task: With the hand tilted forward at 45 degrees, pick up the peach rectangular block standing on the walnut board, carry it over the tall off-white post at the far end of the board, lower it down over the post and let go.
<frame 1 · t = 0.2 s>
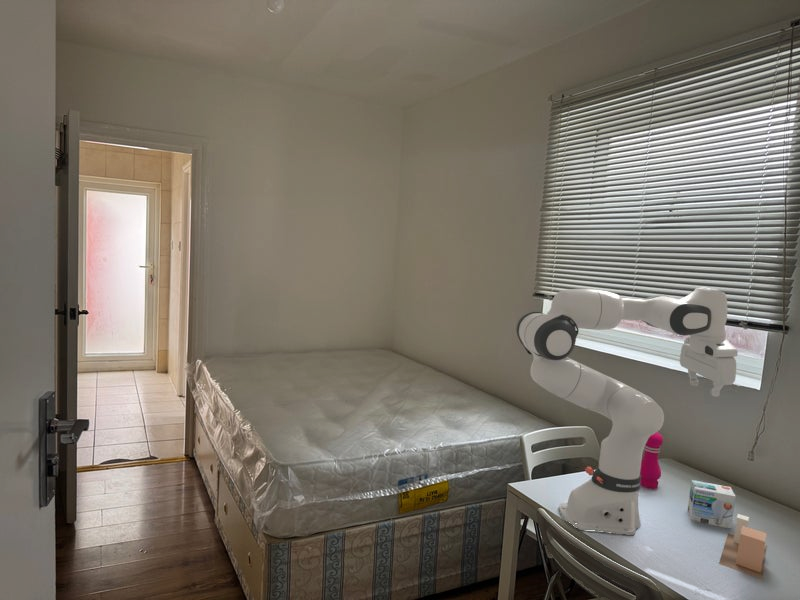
hand: (704, 390, 155), 39 cm above the table, tool pointing down, fingers open, 8 cm apart
post: (739, 541, 145), resting on board
light bulb box: (708, 523, 157), on the table
peach rectangular block: (749, 563, 135), point 1 cm above the table, touching board
pepper mill: (647, 485, 180), on the table
board: (743, 557, 139), on the table
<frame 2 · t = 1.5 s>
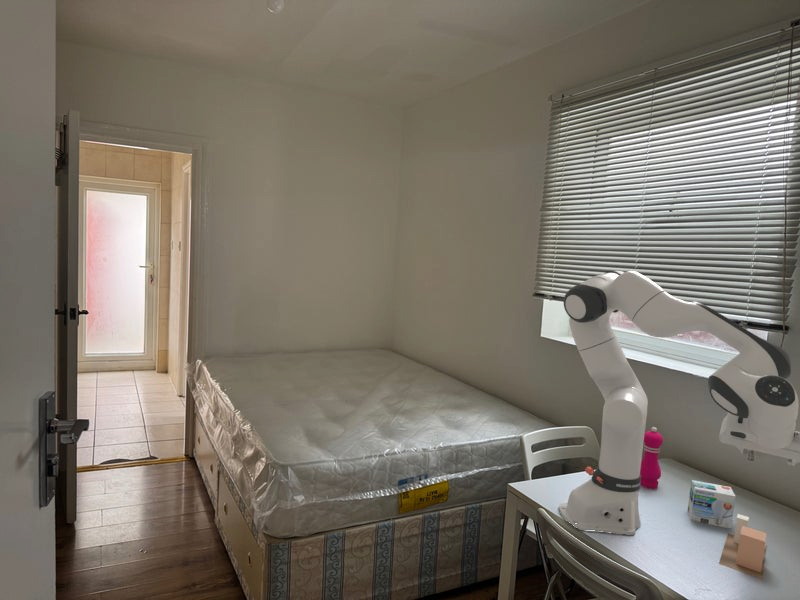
hand: (767, 457, 131), 29 cm above the table, tool tilted 45°, fingers open, 8 cm apart
nothing on the table moved.
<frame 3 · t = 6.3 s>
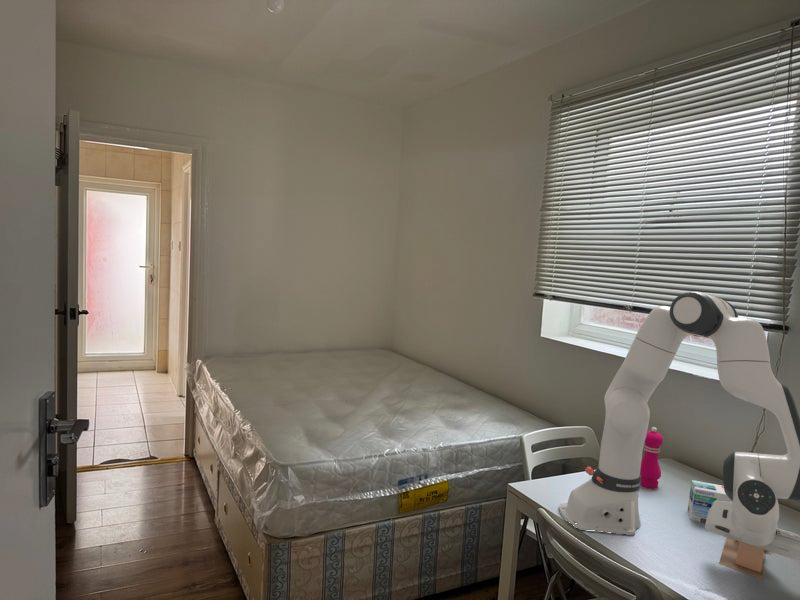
hand: (751, 546, 135), 5 cm above the table, tool tilted 45°, fingers closed on peach rectangular block, 5 cm apart
peach rectangular block: (749, 563, 135), point 1 cm above the table, touching board, gripper
everything else where it was.
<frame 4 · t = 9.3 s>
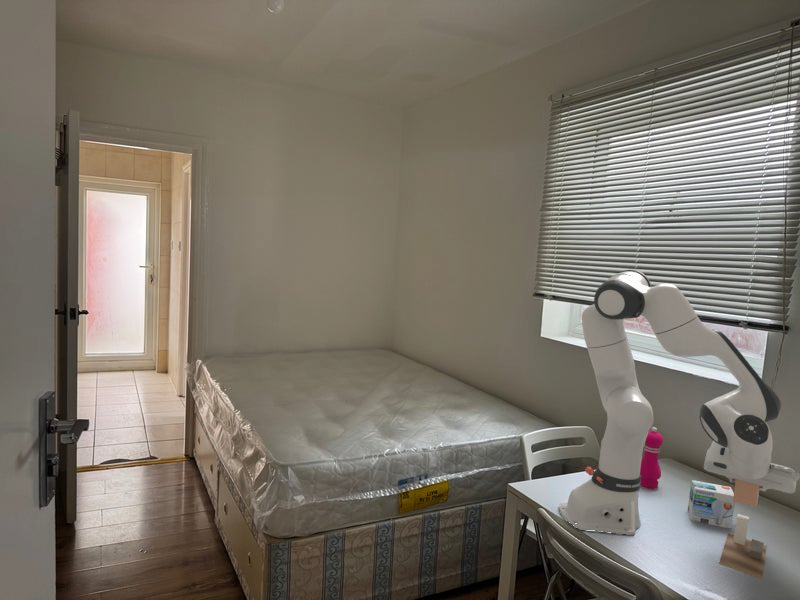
hand: (747, 484, 144), 17 cm above the table, tool tilted 45°, fingers closed on peach rectangular block, 5 cm apart
peach rectangular block: (745, 500, 144), point 13 cm above the table, touching gripper
everything else where it was.
when the fingers open (7 cm above the table, at t = 12.0 s): peach rectangular block drops 1 cm, resting on board.
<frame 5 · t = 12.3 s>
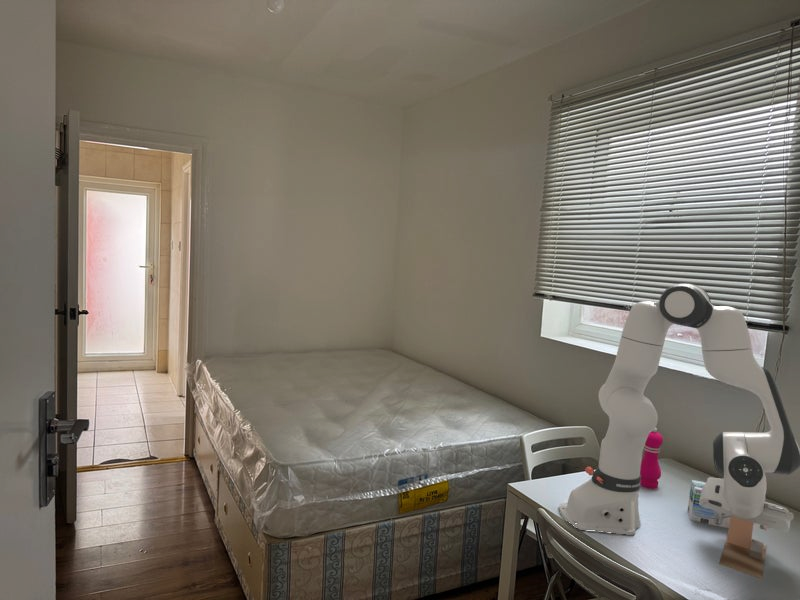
hand: (742, 520, 145), 7 cm above the table, tool tilted 45°, fingers open, 8 cm apart
peach rectangular block: (739, 541, 145), point 1 cm above the table, touching board
everything else where it was.
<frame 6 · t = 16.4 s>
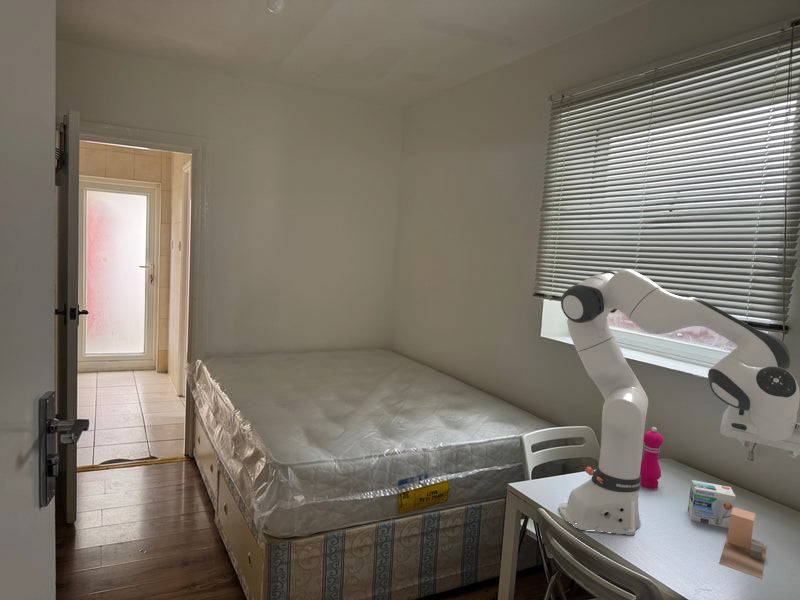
hand: (768, 449, 130), 31 cm above the table, tool tilted 45°, fingers open, 8 cm apart
nothing on the table moved.
at the end: peach rectangular block 0.0 cm from the post (horizontally); peach rectangular block point 1.0 cm above the table; peach rectangular block tilted 0° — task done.
